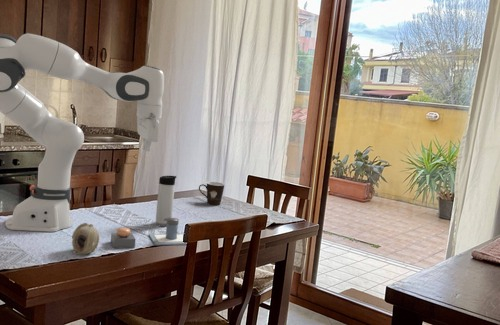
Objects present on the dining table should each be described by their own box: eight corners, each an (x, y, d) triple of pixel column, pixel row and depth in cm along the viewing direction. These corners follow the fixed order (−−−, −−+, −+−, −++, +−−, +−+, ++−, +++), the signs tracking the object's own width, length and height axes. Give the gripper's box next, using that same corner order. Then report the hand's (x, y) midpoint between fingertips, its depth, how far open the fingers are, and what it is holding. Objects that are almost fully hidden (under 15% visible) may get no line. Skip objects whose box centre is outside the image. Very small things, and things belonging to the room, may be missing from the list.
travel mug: (168, 227, 205) (173, 177, 202) (152, 224, 206) (157, 175, 203) (174, 223, 211) (178, 175, 208) (158, 221, 212) (163, 173, 209)
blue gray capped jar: (166, 239, 187) (168, 220, 186) (164, 236, 191) (165, 217, 190) (178, 239, 189) (180, 220, 188) (175, 236, 192) (177, 217, 191)
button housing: (113, 248, 174) (114, 239, 174) (110, 241, 181) (111, 233, 180) (134, 247, 177) (135, 239, 177) (131, 241, 184) (131, 232, 183)
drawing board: (155, 245, 182) (155, 243, 182) (148, 235, 192) (149, 233, 192) (193, 244, 188) (194, 242, 187) (185, 235, 197) (185, 233, 197)
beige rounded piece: (72, 256, 170) (68, 225, 170) (99, 251, 173) (95, 221, 174) (74, 257, 161) (70, 225, 162) (102, 251, 164) (98, 220, 165)
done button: (117, 244, 176) (118, 231, 175) (115, 240, 180) (116, 227, 179) (130, 244, 178) (131, 231, 177) (128, 240, 182) (129, 227, 181)
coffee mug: (225, 204, 255) (228, 184, 253) (215, 206, 247) (217, 186, 246) (206, 199, 261) (208, 179, 259) (196, 201, 253) (198, 181, 252)
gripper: (164, 116, 178) (161, 155, 180) (152, 110, 197) (149, 146, 199) (146, 114, 176) (143, 155, 178) (135, 109, 194) (132, 146, 196)
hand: (146, 150), depth 188 cm, fingers closed
